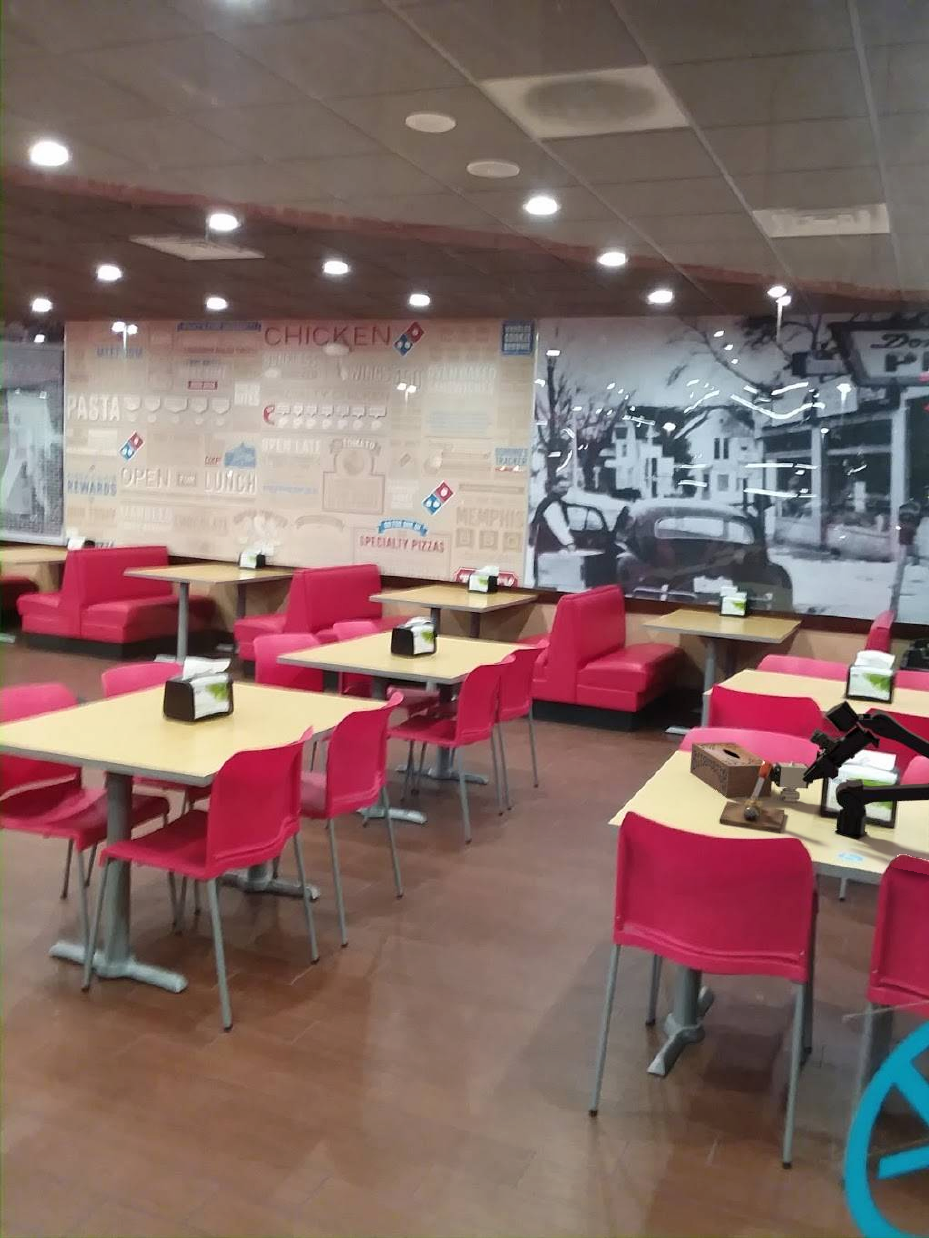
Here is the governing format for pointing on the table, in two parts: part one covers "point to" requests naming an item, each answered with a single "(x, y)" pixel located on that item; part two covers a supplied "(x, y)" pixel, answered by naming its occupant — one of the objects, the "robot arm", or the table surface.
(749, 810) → the valve body
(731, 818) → the mounting board
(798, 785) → the pneumatic valve
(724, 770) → the tissue box cover
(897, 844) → the table surface
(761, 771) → the lever
